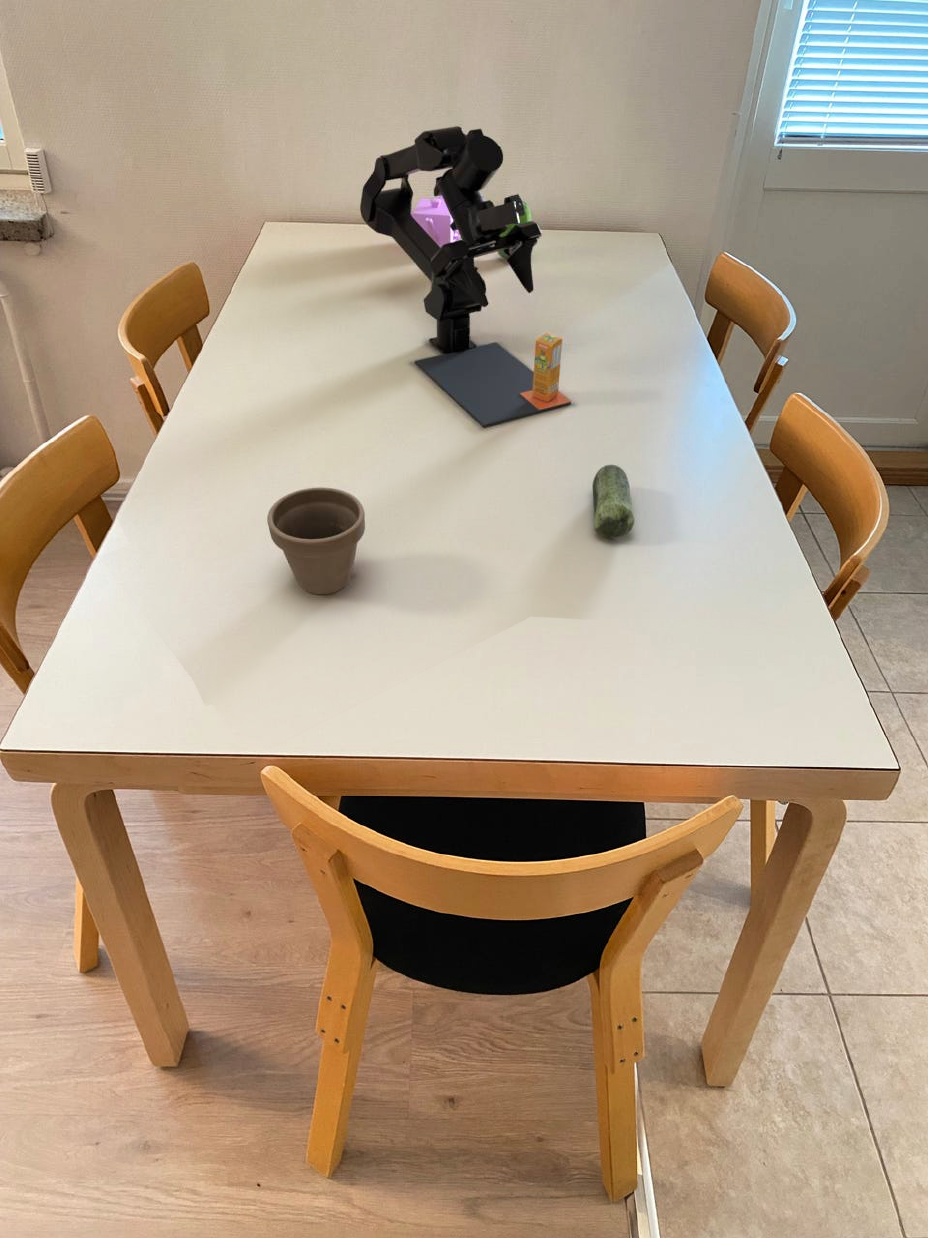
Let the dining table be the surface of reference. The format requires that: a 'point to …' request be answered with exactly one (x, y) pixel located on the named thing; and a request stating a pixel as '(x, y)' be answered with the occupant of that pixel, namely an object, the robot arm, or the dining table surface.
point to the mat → (488, 384)
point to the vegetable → (612, 502)
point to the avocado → (522, 219)
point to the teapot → (435, 220)
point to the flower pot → (318, 536)
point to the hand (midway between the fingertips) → (509, 298)
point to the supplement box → (547, 367)
